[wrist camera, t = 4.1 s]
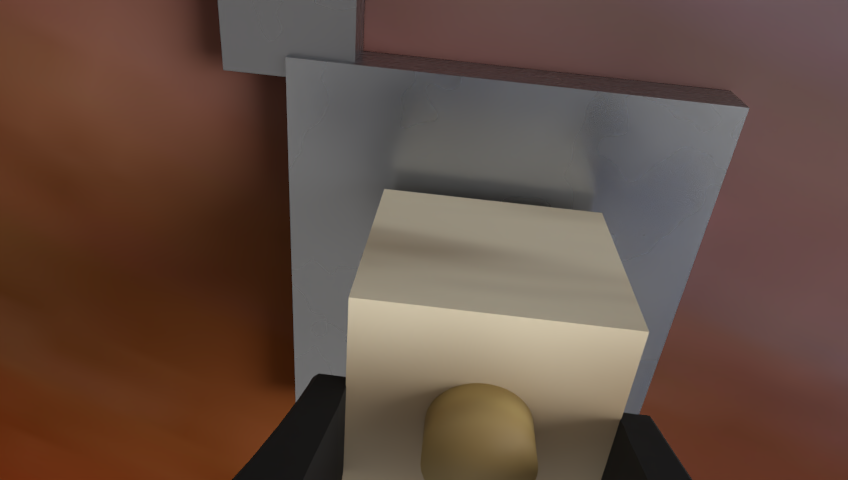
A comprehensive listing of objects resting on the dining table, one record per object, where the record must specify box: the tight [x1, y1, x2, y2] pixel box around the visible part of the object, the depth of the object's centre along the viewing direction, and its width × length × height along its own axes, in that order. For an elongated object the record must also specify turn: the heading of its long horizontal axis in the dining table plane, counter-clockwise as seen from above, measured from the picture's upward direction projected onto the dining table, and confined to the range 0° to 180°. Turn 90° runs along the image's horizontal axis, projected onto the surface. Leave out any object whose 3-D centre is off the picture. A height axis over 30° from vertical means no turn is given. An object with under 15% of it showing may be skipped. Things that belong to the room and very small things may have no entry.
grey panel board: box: [218, 0, 749, 414], centre depth 12 cm, size 19×12×7 cm, turn 175°
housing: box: [342, 189, 649, 480], centre depth 13 cm, size 5×5×6 cm
